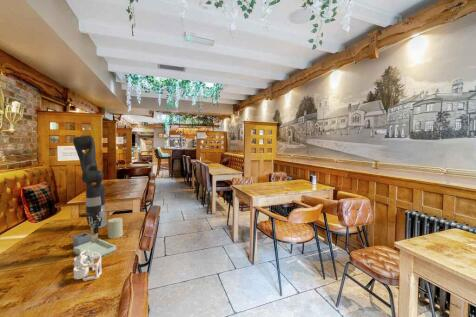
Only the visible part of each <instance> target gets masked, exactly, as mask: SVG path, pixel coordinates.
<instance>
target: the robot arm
mask: <svg viewBox="0 0 476 317" xmlns="http://www.w3.org/2000/svg"><path fill="white" fill-rule="evenodd" d="M72 142H73V145H74V148H75V151H76V154H77V157H78V159H79V163H80V168H81V171H82V174H81V182H83V183H84V184H85V185H86V188H85V214H86V216H85V217H86V221H87V225H88V226H89V229H90V233H91V225H93V226H94V234H97V233H98V234H99V229H102V228H104V227H106V226H108V220H107V212H106V204H105V203H106V186H105V184H102V182H103V180H104V172H103V171H102V170H99V169H98V162H97V158H96V157H97V156H96V142H95V139H94V138H93V136H92V135H82V136H81V135H80V136H75V137H73V139H72ZM87 150H88V151H87ZM84 151H87V152H84ZM93 183H95V184H93Z"/></svg>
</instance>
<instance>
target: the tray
mask: <svg viewBox="0 0 476 317" xmlns="http://www.w3.org/2000/svg"><path fill="white" fill-rule="evenodd" d="M87 249H88V250H89V251H90V252H96V253H99V254H101V258H104V257H106V256H108V255H110V254H113V253H115V252H117V245H114V244H112V243H110V242H107V241H105V240H103V239H101V238H98V242H96V243H91V242H88V243H85V244H82V245H79V246H77V247H74V246H73V253H74V254H76V255H77V256H80V253H81V252H82V251H84V250H87ZM82 255H85V253H83V254H82ZM87 256H88V261H89V262H90V263H92V262H91V254H89V253H88V252H87ZM93 256H96V255H94V254H93ZM97 260H99V258H95V259H94V261H97Z"/></svg>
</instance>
